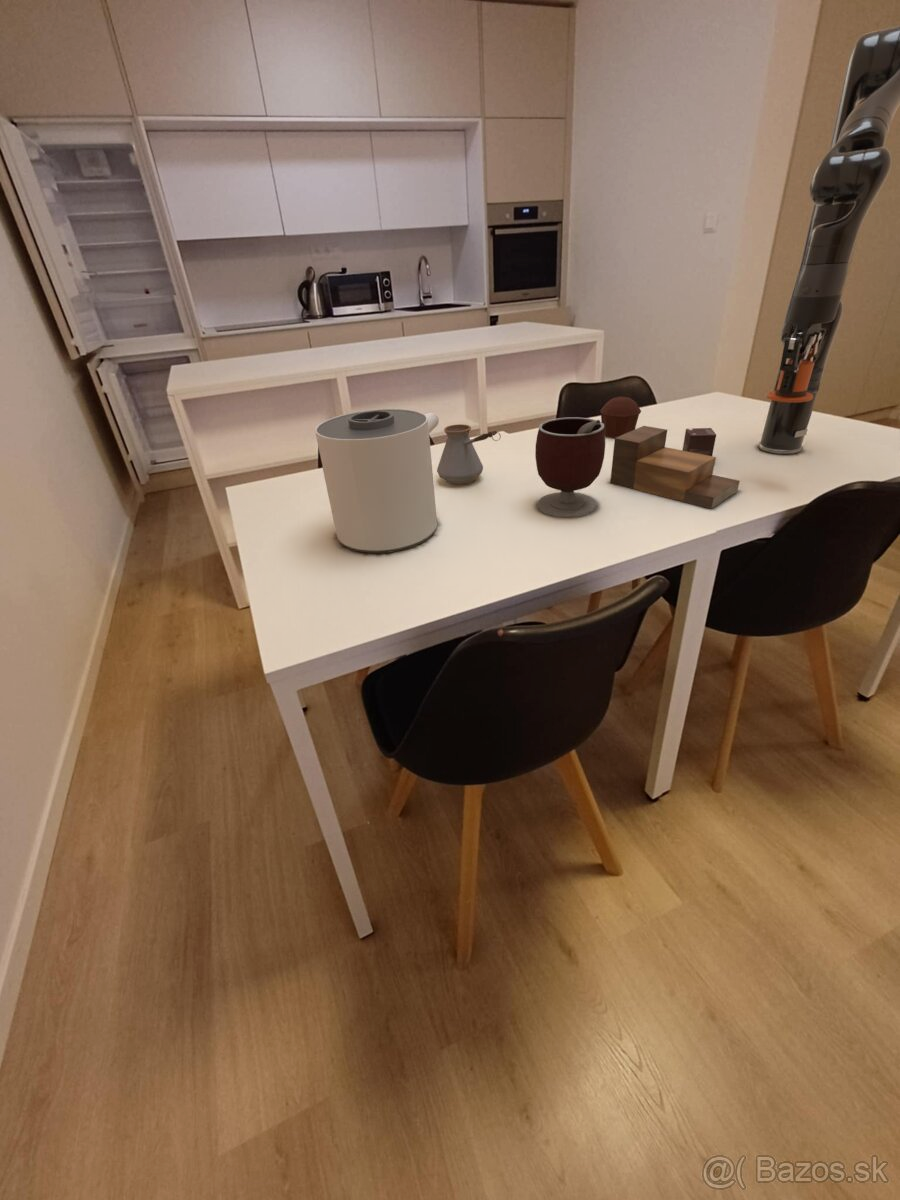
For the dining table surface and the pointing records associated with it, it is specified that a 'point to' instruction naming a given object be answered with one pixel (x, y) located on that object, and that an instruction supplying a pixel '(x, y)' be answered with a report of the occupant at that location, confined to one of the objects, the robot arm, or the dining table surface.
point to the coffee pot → (461, 456)
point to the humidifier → (379, 478)
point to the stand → (667, 469)
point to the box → (699, 441)
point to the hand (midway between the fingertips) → (791, 389)
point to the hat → (795, 386)
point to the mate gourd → (569, 463)
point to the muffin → (619, 416)
